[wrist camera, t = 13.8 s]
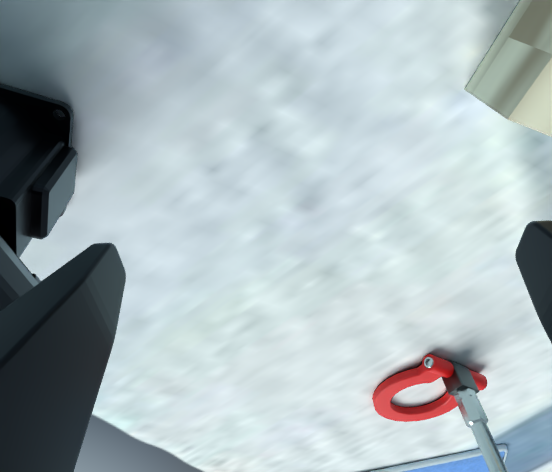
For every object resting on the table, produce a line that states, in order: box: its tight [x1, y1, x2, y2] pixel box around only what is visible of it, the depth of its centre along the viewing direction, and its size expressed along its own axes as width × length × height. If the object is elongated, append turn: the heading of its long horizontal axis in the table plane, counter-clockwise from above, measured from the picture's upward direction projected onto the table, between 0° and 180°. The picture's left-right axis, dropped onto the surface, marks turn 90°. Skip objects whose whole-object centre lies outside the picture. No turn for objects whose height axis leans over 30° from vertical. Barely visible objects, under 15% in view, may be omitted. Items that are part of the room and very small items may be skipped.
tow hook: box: [372, 354, 508, 472], centre depth 32 cm, size 8×13×9 cm
